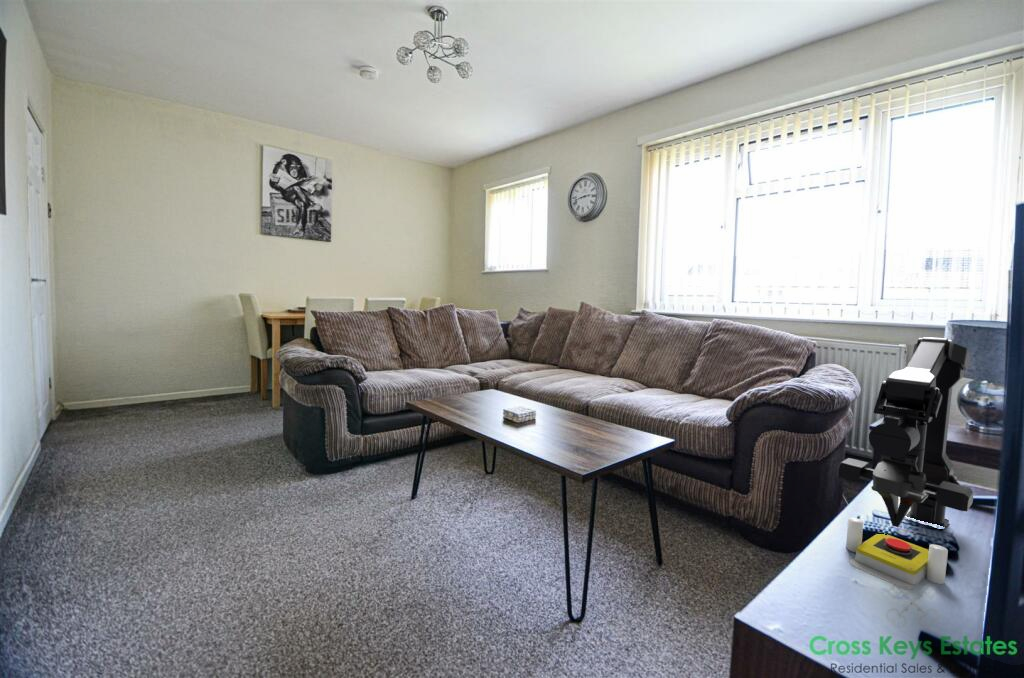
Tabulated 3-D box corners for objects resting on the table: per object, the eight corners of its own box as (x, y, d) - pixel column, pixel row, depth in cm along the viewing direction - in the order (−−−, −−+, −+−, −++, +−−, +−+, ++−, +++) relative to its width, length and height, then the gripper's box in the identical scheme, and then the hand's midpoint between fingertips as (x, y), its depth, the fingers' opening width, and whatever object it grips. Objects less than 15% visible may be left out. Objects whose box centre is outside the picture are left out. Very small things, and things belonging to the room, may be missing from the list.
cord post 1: (848, 544, 93) (850, 516, 92) (862, 549, 91) (864, 521, 90) (844, 548, 91) (846, 519, 91) (858, 553, 89) (861, 524, 89)
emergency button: (942, 545, 86) (911, 570, 78) (939, 566, 86) (909, 594, 78) (882, 523, 94) (849, 544, 86) (880, 543, 94) (847, 566, 86)
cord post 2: (928, 574, 83) (931, 542, 83) (946, 580, 81) (949, 548, 81) (924, 579, 82) (927, 547, 81) (942, 585, 80) (946, 553, 79)
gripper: (828, 440, 86) (822, 518, 88) (966, 471, 72) (955, 564, 73) (849, 429, 93) (842, 503, 95) (978, 456, 78) (968, 542, 80)
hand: (895, 525), depth 86 cm, fingers closed
